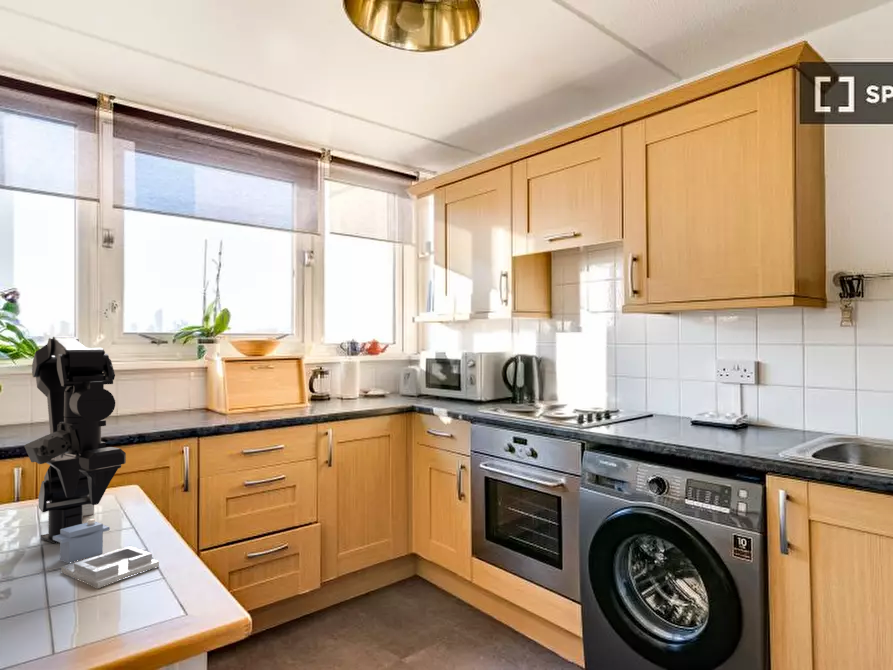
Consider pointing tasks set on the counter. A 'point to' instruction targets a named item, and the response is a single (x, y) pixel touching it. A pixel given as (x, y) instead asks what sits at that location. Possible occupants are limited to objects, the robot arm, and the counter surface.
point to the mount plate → (111, 566)
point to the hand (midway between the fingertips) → (82, 500)
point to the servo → (81, 541)
